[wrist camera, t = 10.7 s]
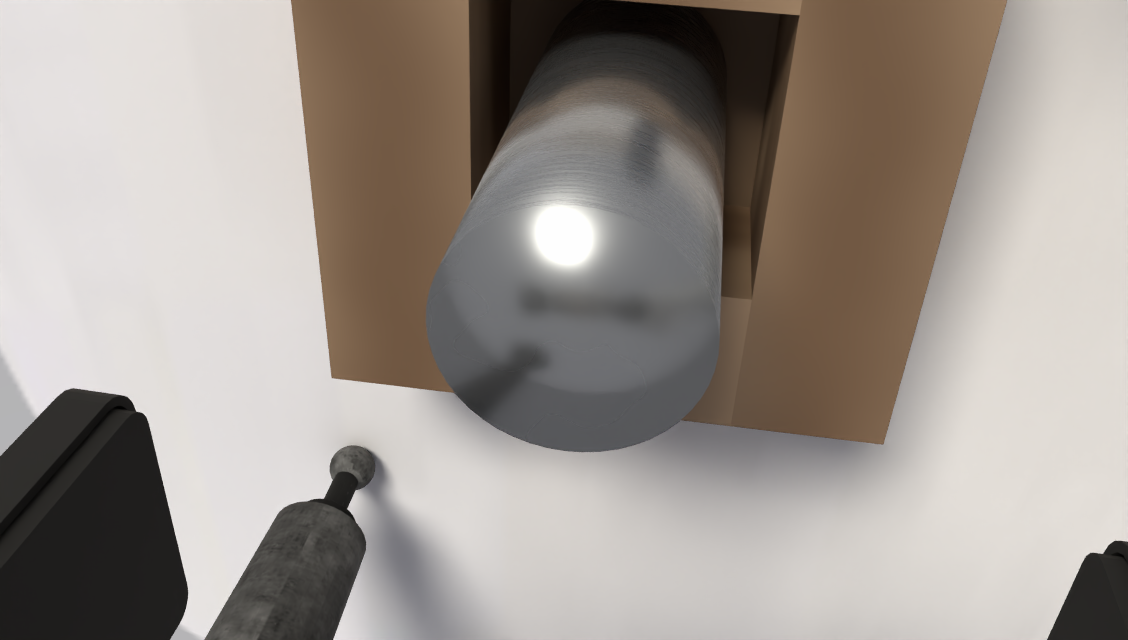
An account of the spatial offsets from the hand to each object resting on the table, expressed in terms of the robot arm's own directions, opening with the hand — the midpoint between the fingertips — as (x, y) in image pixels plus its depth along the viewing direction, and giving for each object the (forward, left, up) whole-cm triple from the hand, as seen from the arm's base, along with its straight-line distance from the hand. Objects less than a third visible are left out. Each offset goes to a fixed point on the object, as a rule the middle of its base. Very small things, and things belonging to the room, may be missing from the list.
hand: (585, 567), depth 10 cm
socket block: (+1, 0, -15) cm, 15 cm away
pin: (+1, 0, -14) cm, 14 cm away
